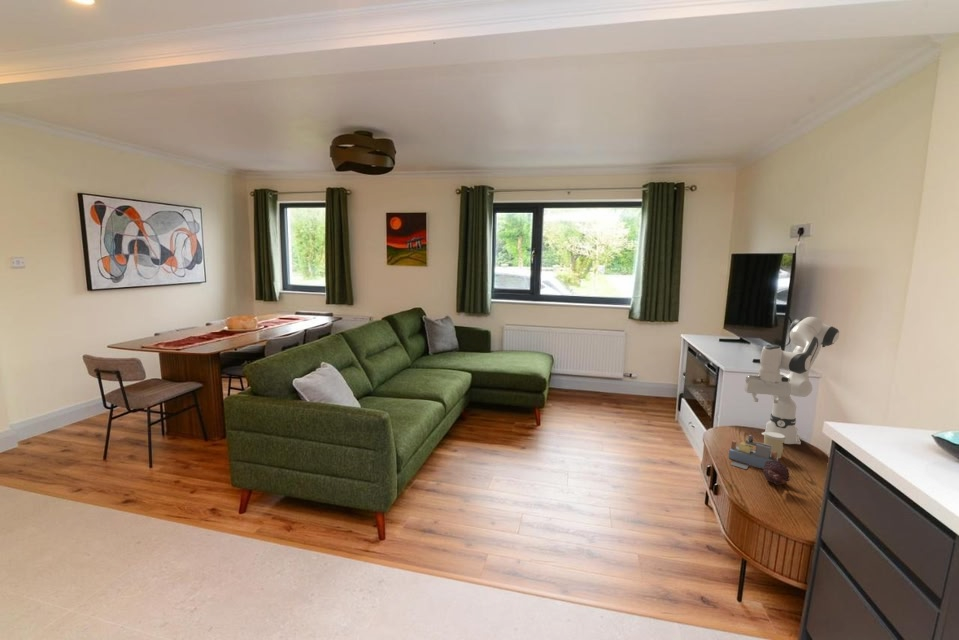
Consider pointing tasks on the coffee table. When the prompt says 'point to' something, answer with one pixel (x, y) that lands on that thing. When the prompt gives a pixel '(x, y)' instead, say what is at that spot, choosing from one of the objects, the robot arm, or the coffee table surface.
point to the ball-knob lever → (750, 441)
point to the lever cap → (745, 448)
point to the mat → (739, 465)
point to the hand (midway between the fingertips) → (765, 402)
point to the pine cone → (776, 472)
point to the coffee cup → (775, 442)
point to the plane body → (753, 455)
